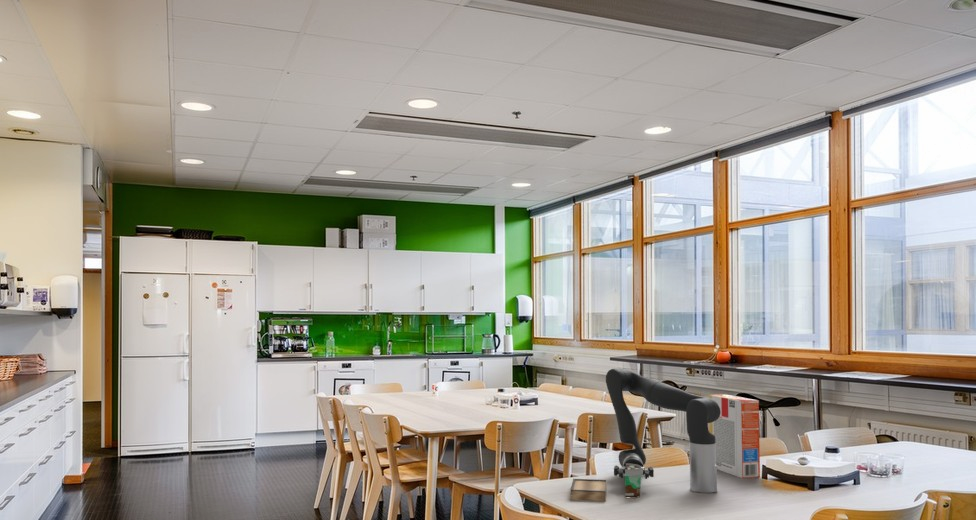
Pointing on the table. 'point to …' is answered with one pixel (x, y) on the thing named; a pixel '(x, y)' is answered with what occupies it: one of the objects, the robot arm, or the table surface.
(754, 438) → the pasta box
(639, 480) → the food container
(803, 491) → the table surface
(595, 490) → the dock
